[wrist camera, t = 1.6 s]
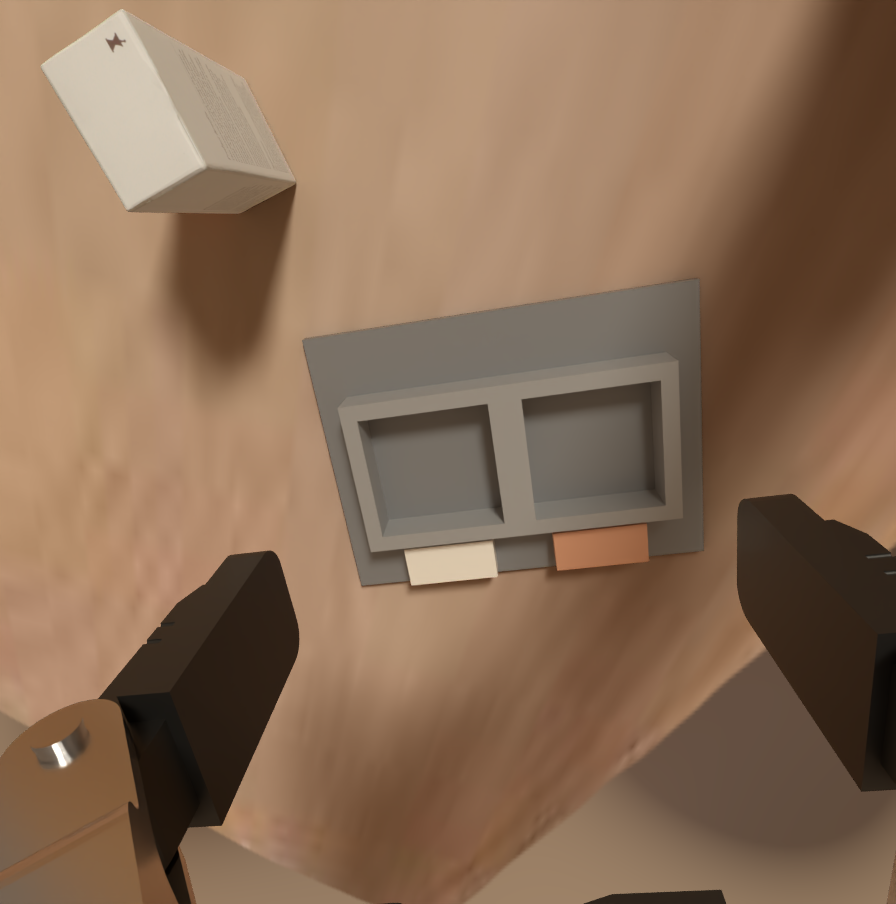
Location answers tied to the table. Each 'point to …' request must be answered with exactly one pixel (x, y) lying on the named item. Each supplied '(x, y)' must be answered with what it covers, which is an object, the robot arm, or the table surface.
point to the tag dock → (552, 421)
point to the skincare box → (167, 121)
